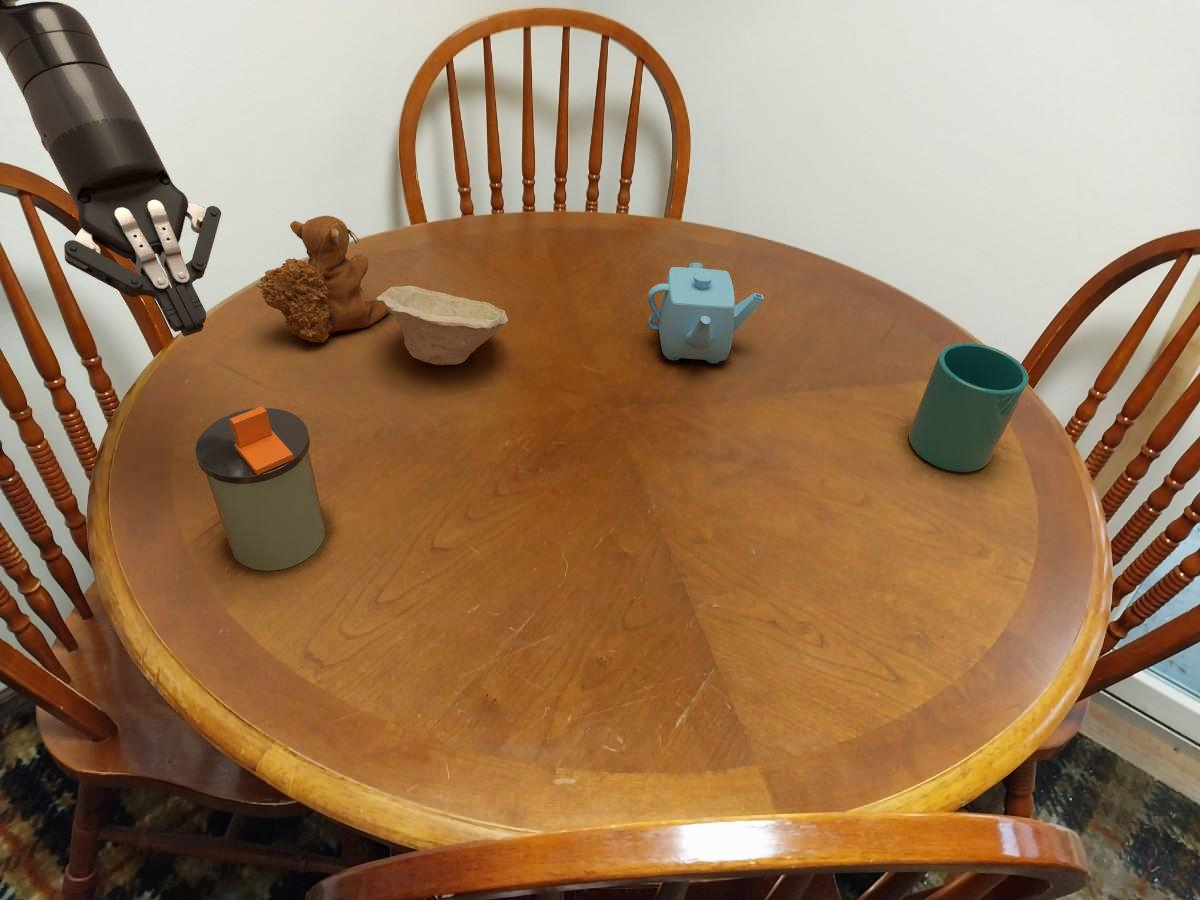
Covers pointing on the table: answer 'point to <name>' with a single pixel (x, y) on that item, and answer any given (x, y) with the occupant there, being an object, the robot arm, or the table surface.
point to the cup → (967, 406)
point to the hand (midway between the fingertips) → (194, 331)
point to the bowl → (441, 323)
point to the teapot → (698, 313)
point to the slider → (258, 441)
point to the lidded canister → (264, 495)
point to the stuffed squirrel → (322, 284)
